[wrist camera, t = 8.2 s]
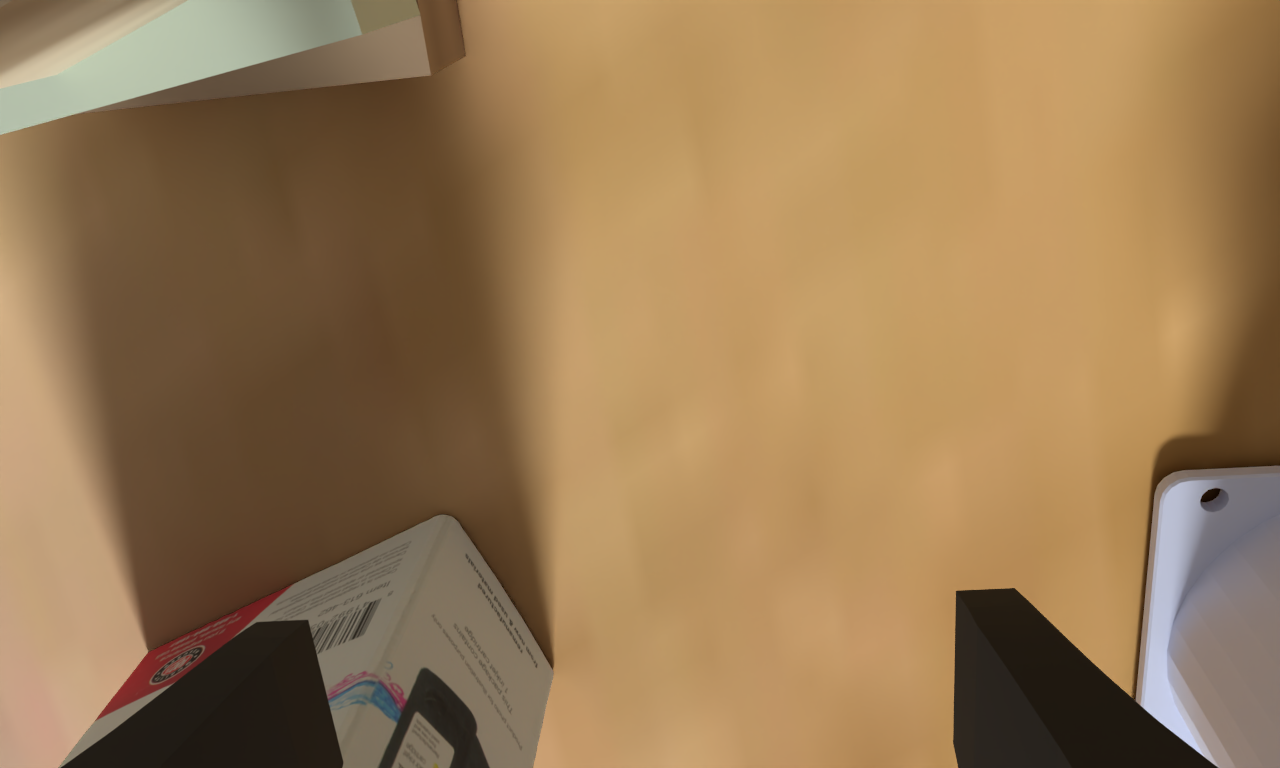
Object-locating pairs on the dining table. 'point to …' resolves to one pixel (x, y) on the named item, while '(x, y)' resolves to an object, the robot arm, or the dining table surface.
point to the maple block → (65, 32)
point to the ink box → (393, 656)
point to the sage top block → (194, 51)
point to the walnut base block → (335, 61)
